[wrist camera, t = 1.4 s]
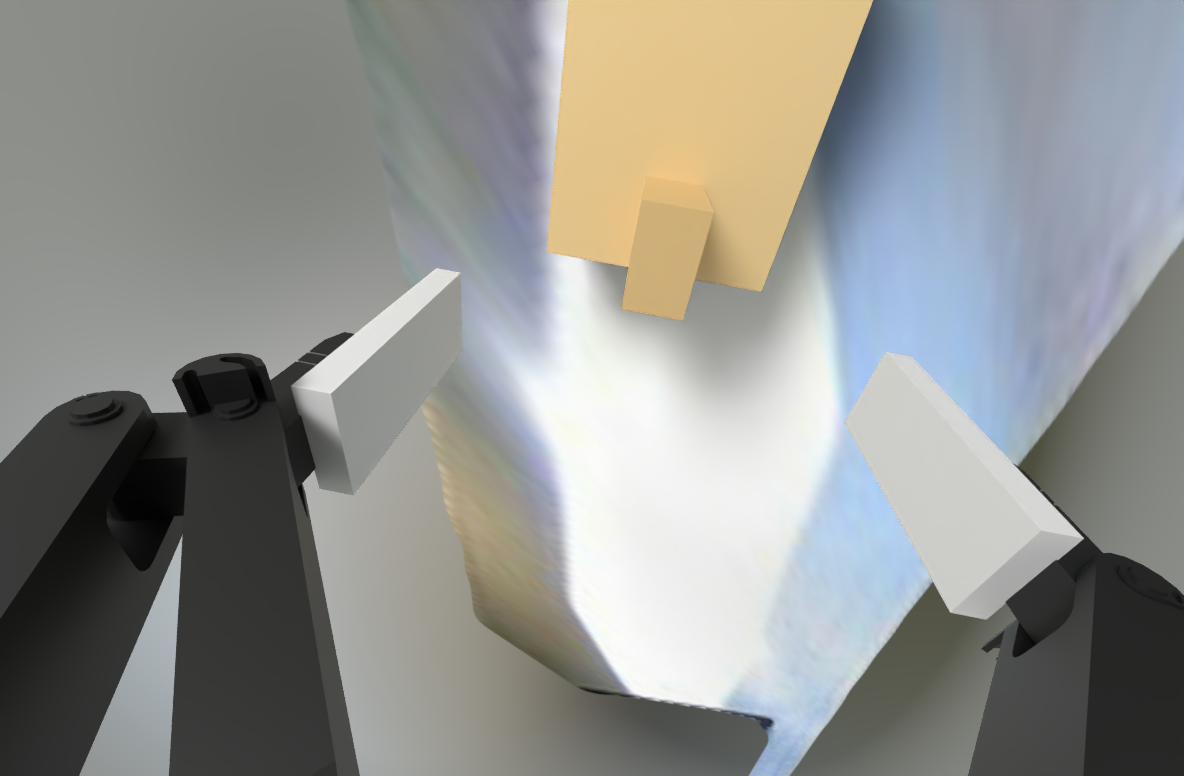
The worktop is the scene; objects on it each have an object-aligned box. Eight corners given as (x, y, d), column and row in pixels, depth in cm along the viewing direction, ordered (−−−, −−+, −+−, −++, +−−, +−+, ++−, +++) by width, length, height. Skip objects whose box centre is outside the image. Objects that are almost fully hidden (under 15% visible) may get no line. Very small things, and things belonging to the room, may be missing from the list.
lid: (598, -242, 17) (561, -432, 11) (929, -188, 17) (1092, -352, 11) (552, 243, 28) (520, 290, 22) (755, 280, 28) (784, 340, 21)
